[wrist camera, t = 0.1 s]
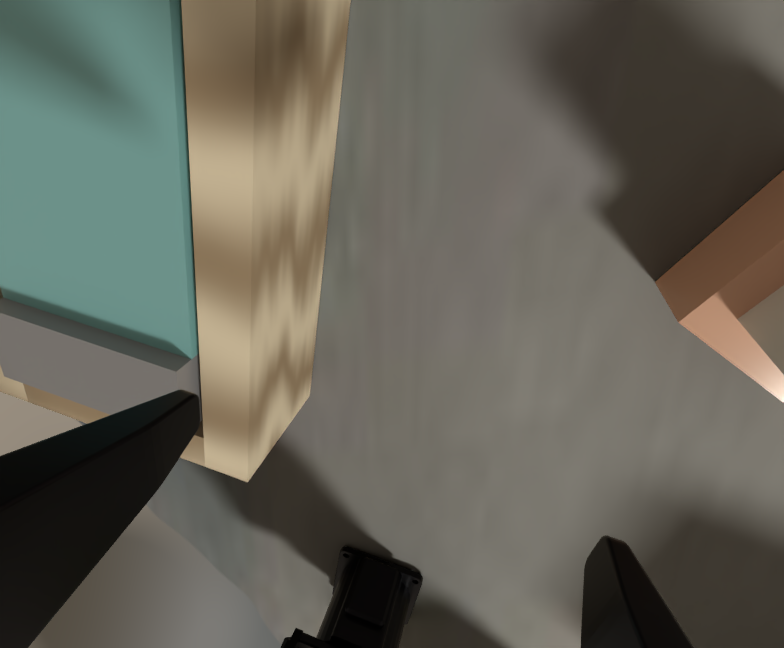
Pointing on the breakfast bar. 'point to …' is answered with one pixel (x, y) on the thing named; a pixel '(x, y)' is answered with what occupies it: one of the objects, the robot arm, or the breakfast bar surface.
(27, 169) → the trapdoor
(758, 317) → the stone pillar
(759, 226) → the plinth
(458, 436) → the breakfast bar surface
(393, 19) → the breakfast bar surface
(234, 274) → the trapdoor box
